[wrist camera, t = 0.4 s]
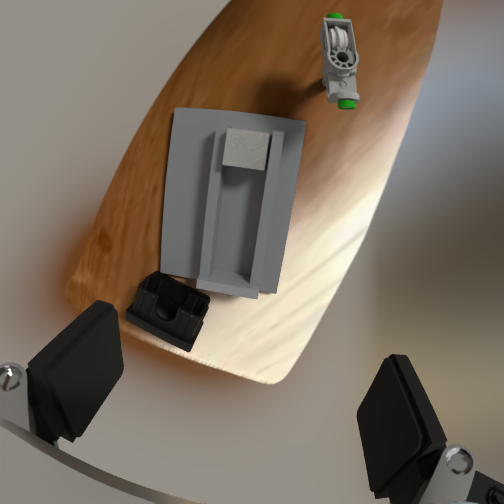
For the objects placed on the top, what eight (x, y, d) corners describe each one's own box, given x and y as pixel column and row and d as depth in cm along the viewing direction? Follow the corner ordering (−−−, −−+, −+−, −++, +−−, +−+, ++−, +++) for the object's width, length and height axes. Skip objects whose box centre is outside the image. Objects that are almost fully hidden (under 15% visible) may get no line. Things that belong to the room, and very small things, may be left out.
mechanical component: (319, 120, 32) (332, 105, 23) (311, 46, 29) (320, 11, 19) (342, 120, 32) (364, 107, 22) (335, 46, 29) (351, 13, 19)
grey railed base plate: (178, 108, 33) (163, 102, 28) (305, 122, 32) (309, 116, 27) (163, 269, 40) (148, 284, 35) (276, 289, 39) (275, 308, 34)
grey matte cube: (233, 131, 32) (227, 128, 28) (270, 136, 32) (269, 133, 28) (228, 164, 34) (222, 164, 30) (265, 169, 33) (263, 170, 30)
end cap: (141, 305, 43) (121, 327, 36) (153, 267, 40) (131, 286, 34) (198, 334, 43) (185, 361, 37) (215, 298, 41) (203, 323, 34)
